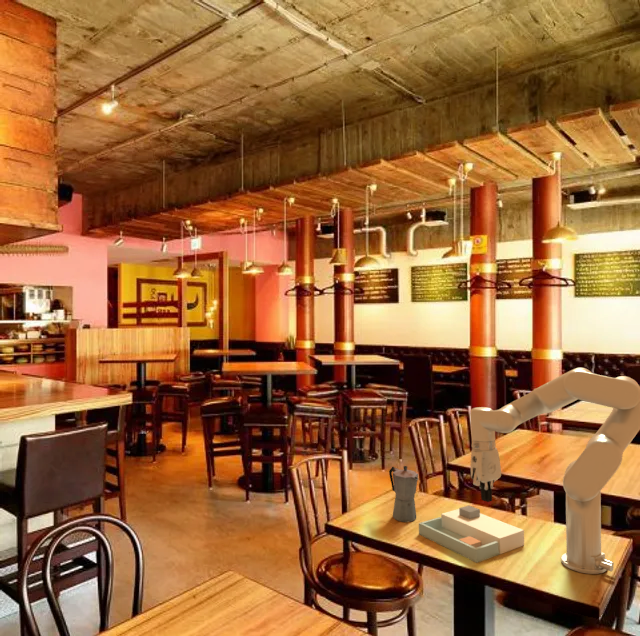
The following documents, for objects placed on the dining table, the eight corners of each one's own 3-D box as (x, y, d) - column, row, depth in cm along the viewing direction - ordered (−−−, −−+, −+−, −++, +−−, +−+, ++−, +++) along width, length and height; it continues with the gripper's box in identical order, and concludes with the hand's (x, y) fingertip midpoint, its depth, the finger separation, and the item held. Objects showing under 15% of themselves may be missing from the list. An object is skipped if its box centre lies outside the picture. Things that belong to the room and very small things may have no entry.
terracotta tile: (470, 544, 170) (470, 552, 170) (481, 541, 172) (481, 549, 172) (458, 539, 174) (458, 547, 174) (469, 536, 177) (469, 543, 177)
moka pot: (410, 526, 193) (409, 472, 193) (380, 515, 205) (379, 463, 205) (427, 520, 199) (426, 467, 199) (396, 509, 211) (396, 459, 211)
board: (524, 545, 176) (524, 530, 176) (500, 554, 170) (499, 538, 170) (464, 520, 198) (464, 507, 198) (441, 527, 192) (441, 513, 192)
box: (499, 554, 169) (499, 541, 169) (476, 562, 164) (476, 549, 164) (440, 527, 192) (440, 516, 192) (418, 534, 186) (418, 523, 186)
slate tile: (479, 516, 189) (479, 509, 189) (470, 519, 186) (469, 512, 186) (469, 512, 193) (469, 505, 193) (459, 515, 190) (459, 508, 190)
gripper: (477, 450, 169) (480, 508, 169) (507, 443, 177) (510, 498, 176) (459, 446, 175) (462, 502, 175) (489, 440, 183) (492, 493, 183)
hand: (486, 500), depth 176 cm, fingers closed
